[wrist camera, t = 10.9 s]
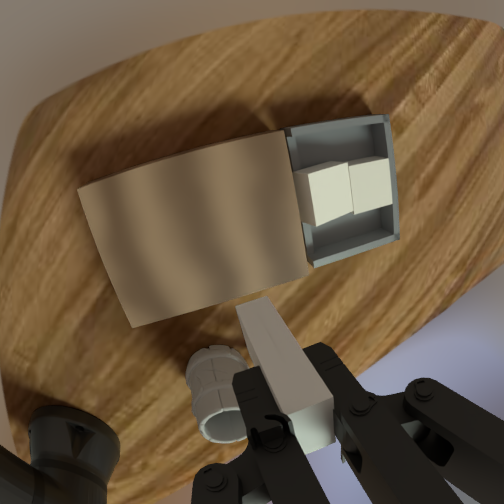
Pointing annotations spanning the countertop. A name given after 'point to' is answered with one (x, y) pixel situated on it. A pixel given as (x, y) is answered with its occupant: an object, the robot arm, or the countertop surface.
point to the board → (198, 226)
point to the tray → (341, 150)
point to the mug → (216, 393)
